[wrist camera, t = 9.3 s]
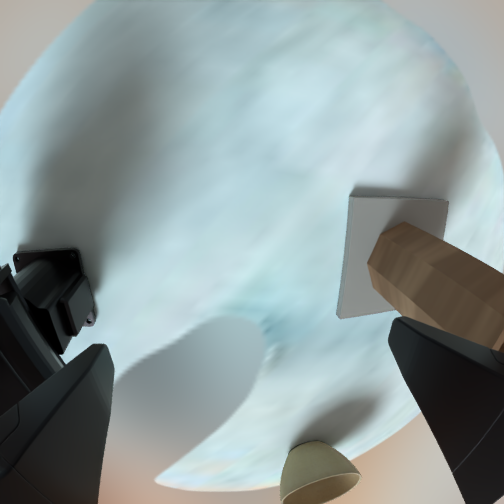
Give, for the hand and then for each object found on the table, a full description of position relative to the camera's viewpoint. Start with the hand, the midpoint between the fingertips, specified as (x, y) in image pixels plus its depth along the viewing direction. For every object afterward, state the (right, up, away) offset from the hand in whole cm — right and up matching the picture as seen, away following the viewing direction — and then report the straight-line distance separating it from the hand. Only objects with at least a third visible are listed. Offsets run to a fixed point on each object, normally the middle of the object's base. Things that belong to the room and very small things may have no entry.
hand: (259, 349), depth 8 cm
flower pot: (+7, -23, +24) cm, 34 cm away
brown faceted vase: (+12, +2, +14) cm, 19 cm away
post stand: (+12, +3, +15) cm, 19 cm away
